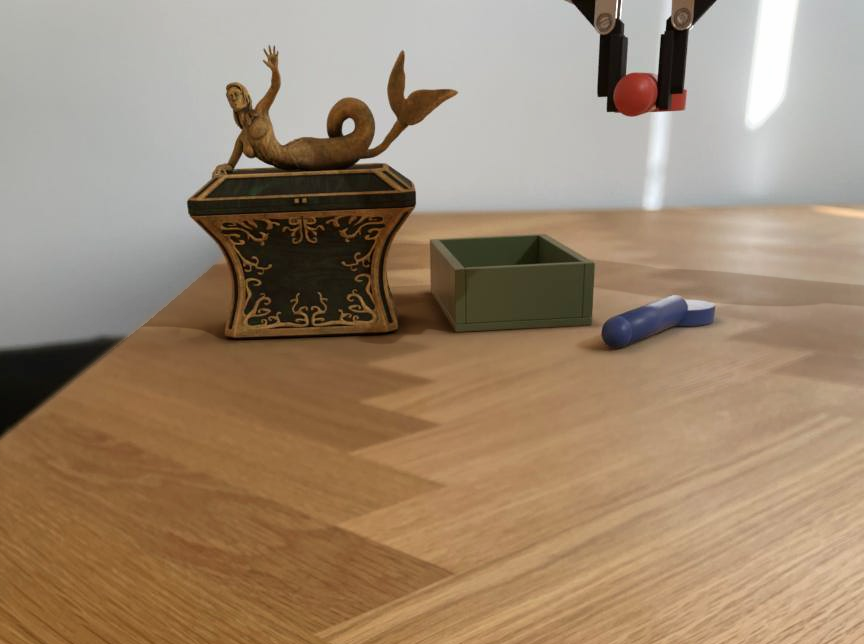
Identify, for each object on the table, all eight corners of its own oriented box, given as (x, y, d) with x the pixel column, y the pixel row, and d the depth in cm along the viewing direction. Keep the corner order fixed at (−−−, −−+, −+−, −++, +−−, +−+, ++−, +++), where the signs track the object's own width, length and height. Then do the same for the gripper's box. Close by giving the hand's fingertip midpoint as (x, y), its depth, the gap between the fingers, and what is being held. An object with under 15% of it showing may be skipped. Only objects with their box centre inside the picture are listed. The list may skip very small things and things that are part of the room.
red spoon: (617, 111, 71) (619, 74, 70) (687, 109, 70) (690, 71, 69) (588, 118, 59) (590, 74, 58) (672, 116, 57) (676, 70, 56)
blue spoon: (667, 313, 84) (670, 284, 83) (723, 318, 81) (726, 288, 80) (579, 348, 74) (581, 316, 73) (639, 355, 71) (642, 321, 70)
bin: (544, 286, 97) (545, 233, 95) (591, 325, 81) (595, 262, 79) (430, 292, 97) (429, 239, 95) (455, 332, 80) (455, 269, 78)
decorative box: (200, 344, 80) (166, 48, 71) (219, 319, 88) (190, 53, 79) (462, 334, 79) (461, 35, 70) (455, 310, 88) (453, 41, 79)
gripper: (827, -290, 55) (779, 103, 63) (525, -249, 59) (518, 113, 68) (837, -338, 49) (782, 107, 57) (498, -288, 53) (494, 117, 62)
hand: (639, 107), depth 62 cm, fingers closed on red spoon, 2 cm apart
